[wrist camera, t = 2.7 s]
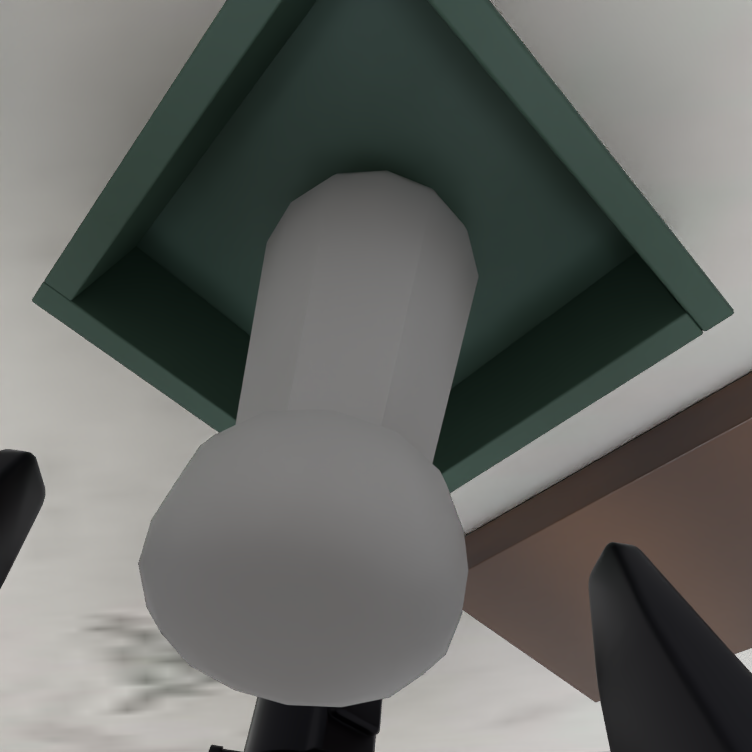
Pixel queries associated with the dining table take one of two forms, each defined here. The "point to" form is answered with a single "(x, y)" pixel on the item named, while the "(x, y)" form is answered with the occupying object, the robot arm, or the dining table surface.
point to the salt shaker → (329, 461)
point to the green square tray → (407, 159)
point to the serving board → (626, 537)
